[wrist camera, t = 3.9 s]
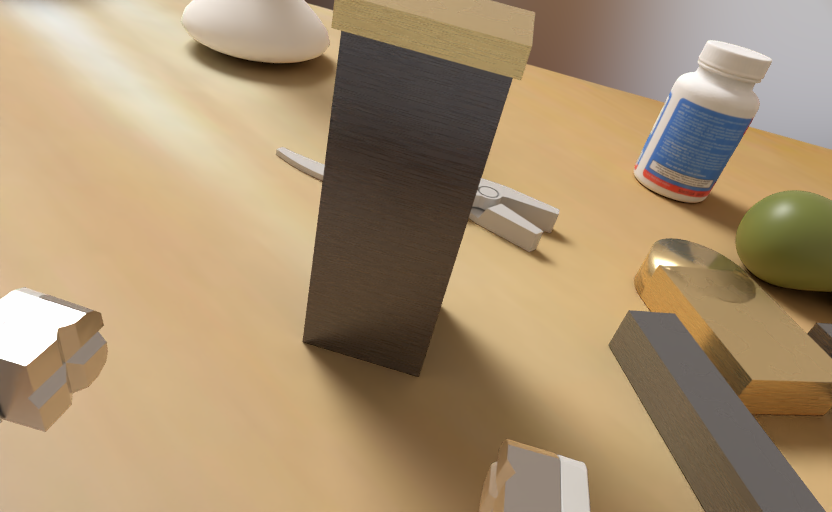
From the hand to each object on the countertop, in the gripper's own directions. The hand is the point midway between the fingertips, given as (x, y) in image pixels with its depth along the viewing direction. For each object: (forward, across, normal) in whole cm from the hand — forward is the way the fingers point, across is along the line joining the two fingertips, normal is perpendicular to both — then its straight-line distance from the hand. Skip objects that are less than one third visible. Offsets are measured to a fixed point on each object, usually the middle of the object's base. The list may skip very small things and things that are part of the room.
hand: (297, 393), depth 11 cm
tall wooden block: (+9, 0, +6) cm, 11 cm away
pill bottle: (+32, -16, +6) cm, 36 cm away
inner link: (+15, -15, +6) cm, 22 cm away
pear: (+22, -23, +6) cm, 32 cm away
